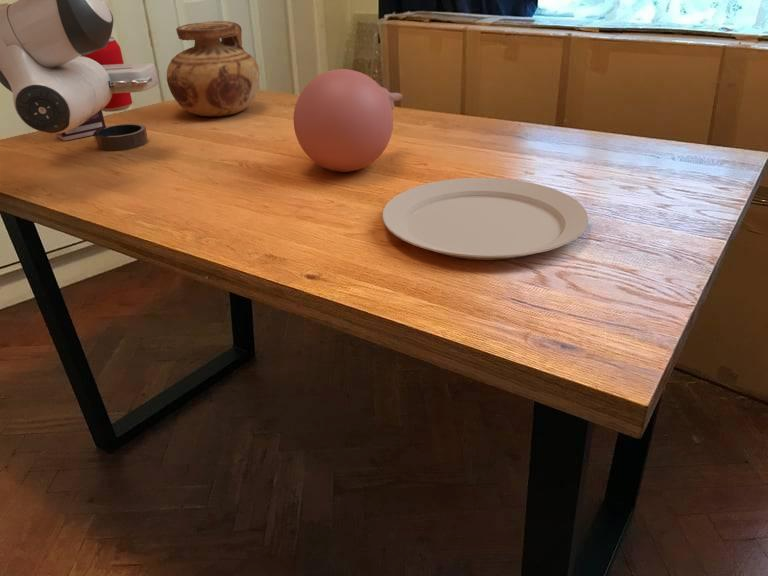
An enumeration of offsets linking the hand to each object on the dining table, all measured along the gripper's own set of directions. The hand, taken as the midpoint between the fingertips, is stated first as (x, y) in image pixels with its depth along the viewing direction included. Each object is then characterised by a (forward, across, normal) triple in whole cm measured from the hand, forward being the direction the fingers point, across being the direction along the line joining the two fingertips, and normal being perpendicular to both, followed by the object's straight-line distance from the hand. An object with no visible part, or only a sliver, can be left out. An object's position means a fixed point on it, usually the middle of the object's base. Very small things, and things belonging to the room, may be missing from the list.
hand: (108, 70), depth 118 cm
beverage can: (-1, 0, +7) cm, 7 cm away
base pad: (-1, 0, +13) cm, 13 cm away
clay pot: (+20, -14, +13) cm, 28 cm away
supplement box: (+7, +10, +13) cm, 18 cm away
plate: (-48, -59, +14) cm, 77 cm away
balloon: (-21, -44, +14) cm, 50 cm away
